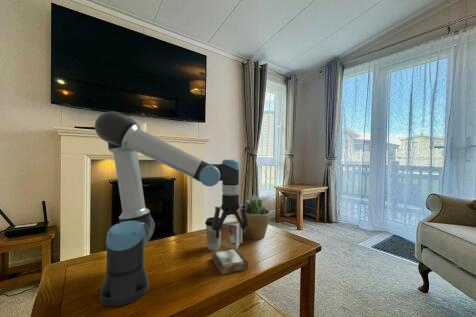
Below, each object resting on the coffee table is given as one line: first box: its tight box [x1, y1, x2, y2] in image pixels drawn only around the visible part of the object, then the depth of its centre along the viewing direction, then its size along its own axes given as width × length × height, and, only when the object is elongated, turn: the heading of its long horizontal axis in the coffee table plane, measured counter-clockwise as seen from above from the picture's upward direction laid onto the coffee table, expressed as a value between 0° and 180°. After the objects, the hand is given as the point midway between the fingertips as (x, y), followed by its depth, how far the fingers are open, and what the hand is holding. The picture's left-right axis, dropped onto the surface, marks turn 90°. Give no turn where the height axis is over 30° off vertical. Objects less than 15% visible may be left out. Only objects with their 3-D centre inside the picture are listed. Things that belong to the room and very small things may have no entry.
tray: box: [211, 248, 249, 275], centre depth 94 cm, size 12×14×4 cm
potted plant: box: [240, 194, 272, 241], centre depth 127 cm, size 18×19×25 cm
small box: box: [220, 219, 241, 249], centre depth 94 cm, size 8×6×10 cm
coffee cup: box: [204, 216, 221, 251], centre depth 110 cm, size 10×10×15 cm
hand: (229, 243), depth 94 cm, fingers closed on small box, 9 cm apart
